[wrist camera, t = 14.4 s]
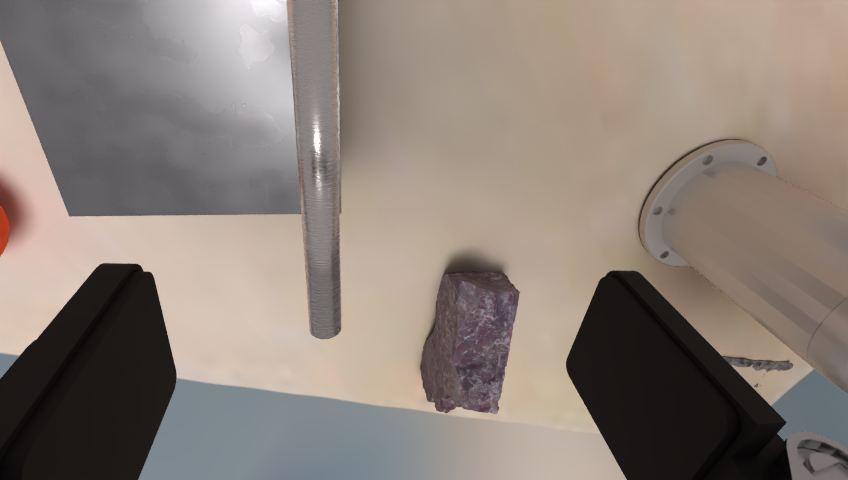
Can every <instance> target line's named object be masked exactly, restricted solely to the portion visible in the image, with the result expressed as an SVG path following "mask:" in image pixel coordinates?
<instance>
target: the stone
mask: <svg viewBox="0 0 848 480" xmlns="http://www.w3.org/2000/svg"><path fill="white" fill-rule="evenodd" d="M519 293H520V291H518V290H517V289H516V288H515V287H514V285H513V284H511V282H510V281H509V280H508V277H507V276H506V275H505V274H504V273H502V272H491V273H488V272H484V273H478V272H456V273H455V274H445V275H444V276H443V278H442V280H441V284H440V288H439V292H438V295H437V302H436V303H437V305H436V315H437V317H436V324H435V328H434V331H433V333H432V334H431V336H430V337H429V338H428V340H427V341H426V343H425V345H424V347H423V348H424V351H423V360H422V362H421V376H422V380H423V388H424V389H425V393H426V397H427V401H428V402H435V408H436V410H437V411H440V412H445V413H448V412H449V411H450V410H453V409H455V408H456V407H462V408H464V409H467V410H474V411H478V412H486V413H488V412H491V413H493V414H497V413H498V410H499V407H498V403H497V402H498V401H499V399H500V397H501V393H502V384H503V381H504V377H505V367H506V366H507V360H508V354H509V350H510V342H511V337H512V329H513V323H514V321H515V317H516V311H517V306H518V299H519Z"/></svg>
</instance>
